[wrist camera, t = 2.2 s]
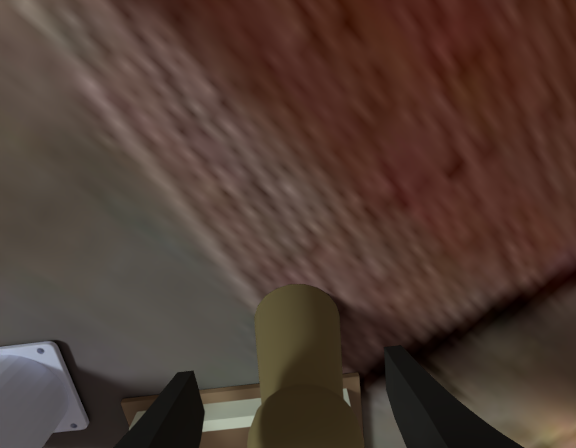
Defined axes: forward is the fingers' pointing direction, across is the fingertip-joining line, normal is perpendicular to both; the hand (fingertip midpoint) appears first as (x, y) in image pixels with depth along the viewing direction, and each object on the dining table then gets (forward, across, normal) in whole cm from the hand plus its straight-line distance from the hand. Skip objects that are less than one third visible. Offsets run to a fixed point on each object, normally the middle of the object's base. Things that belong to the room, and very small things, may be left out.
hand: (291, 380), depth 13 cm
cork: (+11, 0, +5) cm, 12 cm away
